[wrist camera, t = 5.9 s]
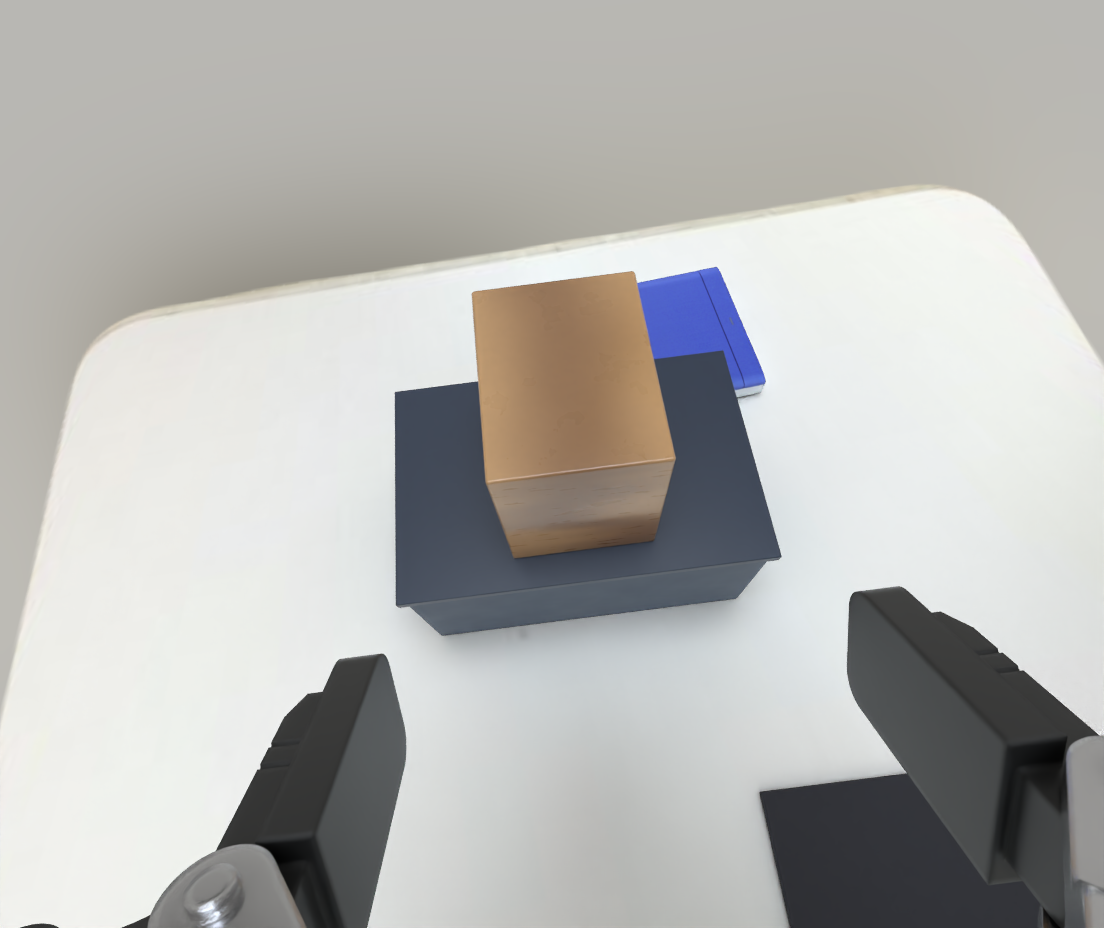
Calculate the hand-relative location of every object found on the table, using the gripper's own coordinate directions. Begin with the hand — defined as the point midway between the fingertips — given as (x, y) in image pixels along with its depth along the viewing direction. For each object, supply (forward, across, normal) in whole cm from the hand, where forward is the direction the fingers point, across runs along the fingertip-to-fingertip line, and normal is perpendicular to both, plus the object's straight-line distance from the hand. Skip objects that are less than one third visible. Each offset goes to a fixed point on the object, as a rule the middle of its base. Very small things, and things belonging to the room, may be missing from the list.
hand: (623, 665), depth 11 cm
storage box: (+20, 0, -7) cm, 21 cm away
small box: (+15, 0, -2) cm, 15 cm away
